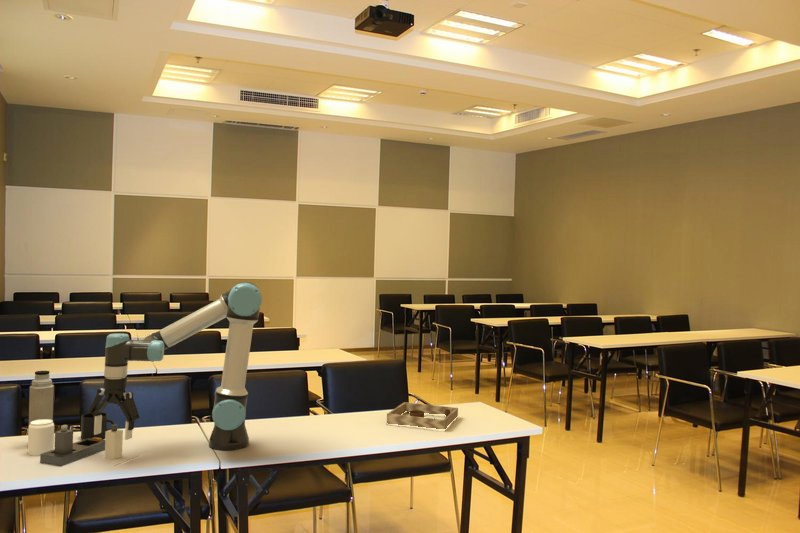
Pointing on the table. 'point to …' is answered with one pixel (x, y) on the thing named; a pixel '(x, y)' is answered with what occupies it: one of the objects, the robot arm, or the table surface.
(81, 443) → the strip
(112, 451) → the plug
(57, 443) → the twin plug
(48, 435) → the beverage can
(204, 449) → the table surface
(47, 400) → the thermos bottle
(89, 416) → the mug
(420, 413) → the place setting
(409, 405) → the frame
